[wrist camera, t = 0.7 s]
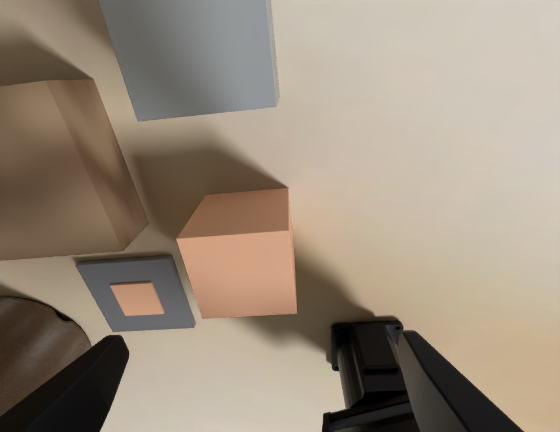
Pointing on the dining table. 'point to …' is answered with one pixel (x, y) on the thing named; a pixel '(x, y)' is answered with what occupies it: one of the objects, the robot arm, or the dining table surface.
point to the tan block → (62, 174)
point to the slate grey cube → (194, 55)
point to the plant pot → (33, 347)
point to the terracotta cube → (241, 254)
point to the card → (138, 293)
